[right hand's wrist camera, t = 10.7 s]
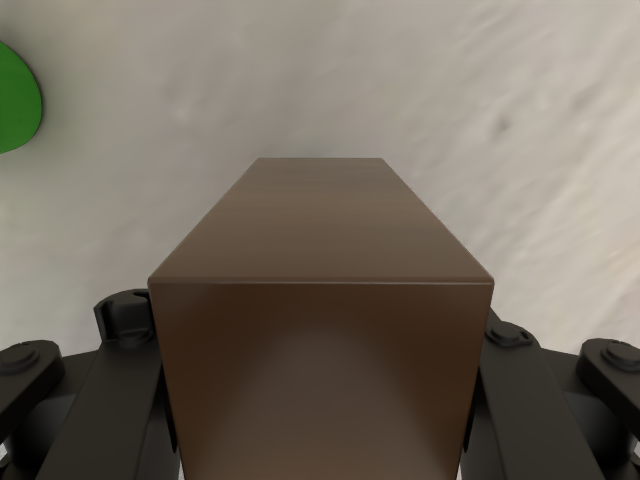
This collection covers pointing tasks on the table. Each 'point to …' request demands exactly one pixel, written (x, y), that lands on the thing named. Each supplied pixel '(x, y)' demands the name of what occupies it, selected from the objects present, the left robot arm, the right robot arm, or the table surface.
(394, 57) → the table surface
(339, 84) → the table surface
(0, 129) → the potted flower
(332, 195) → the bar
